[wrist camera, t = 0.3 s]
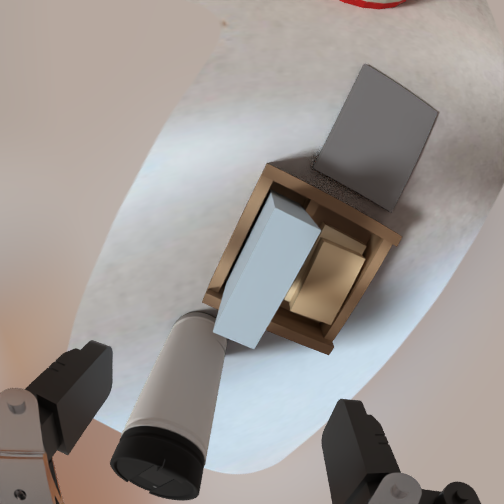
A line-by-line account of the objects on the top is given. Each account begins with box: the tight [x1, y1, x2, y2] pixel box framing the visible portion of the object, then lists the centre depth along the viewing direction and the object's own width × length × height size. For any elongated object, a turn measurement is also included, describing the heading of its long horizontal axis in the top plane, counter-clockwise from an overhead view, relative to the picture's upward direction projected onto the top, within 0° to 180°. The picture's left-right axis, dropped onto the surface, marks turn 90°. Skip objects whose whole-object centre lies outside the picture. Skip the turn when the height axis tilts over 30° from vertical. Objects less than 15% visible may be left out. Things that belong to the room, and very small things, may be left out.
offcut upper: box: [289, 237, 365, 325], centre depth 28 cm, size 7×4×2 cm, turn 158°
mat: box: [313, 64, 438, 213], centre depth 27 cm, size 12×9×1 cm
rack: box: [202, 163, 402, 355], centre depth 29 cm, size 13×13×5 cm
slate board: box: [213, 189, 321, 349], centre depth 24 cm, size 9×3×11 cm, turn 155°
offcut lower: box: [284, 221, 367, 302], centre depth 30 cm, size 8×4×2 cm, turn 154°
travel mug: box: [110, 312, 228, 500], centre depth 25 cm, size 6×7×20 cm
